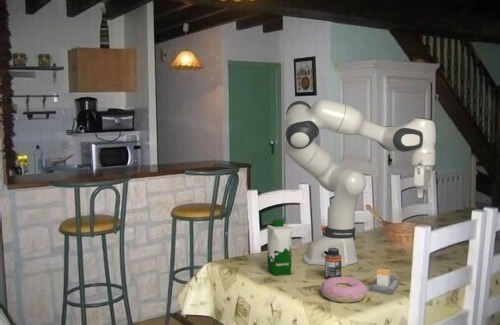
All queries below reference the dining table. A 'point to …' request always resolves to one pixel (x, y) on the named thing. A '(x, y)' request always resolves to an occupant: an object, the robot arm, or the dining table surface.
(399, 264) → the dining table surface
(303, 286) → the dining table surface
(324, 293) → the donut
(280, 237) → the milk carton
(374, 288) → the console
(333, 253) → the supplement bottle
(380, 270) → the fader knob
